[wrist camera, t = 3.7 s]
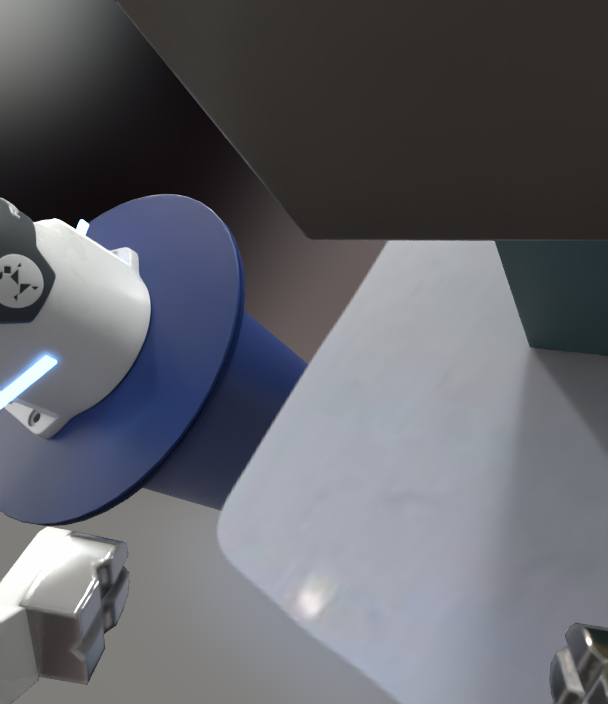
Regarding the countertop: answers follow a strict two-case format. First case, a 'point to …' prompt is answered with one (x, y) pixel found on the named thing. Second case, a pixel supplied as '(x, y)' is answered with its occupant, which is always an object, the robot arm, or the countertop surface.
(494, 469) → the countertop surface
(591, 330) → the teal box with label
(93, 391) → the robot arm
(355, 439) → the countertop surface
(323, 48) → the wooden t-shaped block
